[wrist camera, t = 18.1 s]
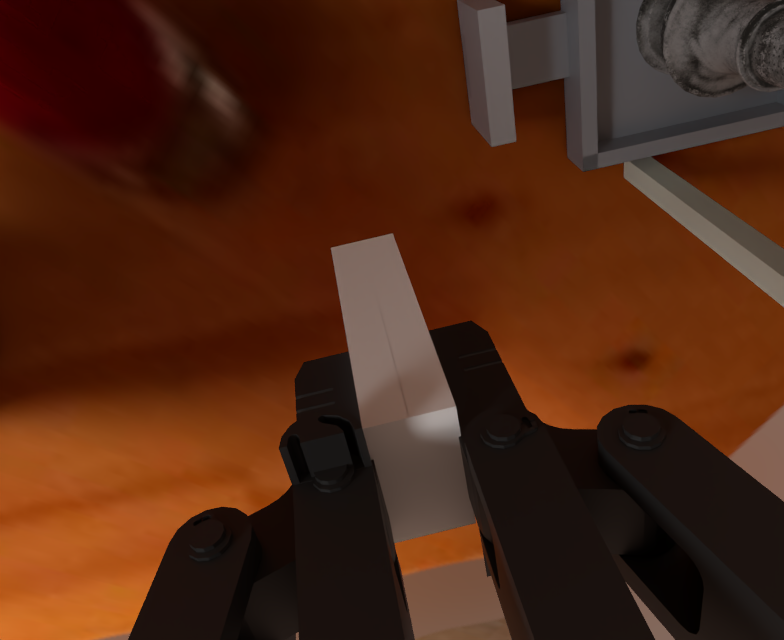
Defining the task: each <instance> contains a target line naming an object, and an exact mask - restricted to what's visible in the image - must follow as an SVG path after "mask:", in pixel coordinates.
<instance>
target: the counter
mask: <svg viewBox="0 0 784 640" xmlns="http://www.w3.org/2000/svg"><path fill="white" fill-rule="evenodd" d="M624 178H625V179H626V180H627V181H629V182H630V183H631V184H632V185H634V186H635V187H636V188H637V189H638V190H640V191H641V192H642V193H643V194H645V195H646V196H647V197H648V198H650V199H651V200H652V201H653V202H655V203H656V204H657V205H658V206H659V207H661V208H662V209H663V210H664V211H666V212H667V213H668V214H669V215H671V216H672V217H673V218H674V219H675V220H677V221H678V222H679V223H680V224H682V225H683V226H684V227H685V228H687V229H688V230H689V231H690V232H692V233H693V234H694V235H695V236H696V237H698V238H699V239H700V240H701V241H703V242H704V243H705V244H706V245H708V246H709V247H710V248H711V249H713V250H714V251H715V252H716V253H717V254H719V255H720V256H721V257H722V258H724V259H725V260H726V261H727V262H729V263H730V264H731V265H732V266H734V267H735V268H736V269H737V270H738V271H740V272H741V273H742V274H743V275H745V276H746V277H747V278H748V279H750V280H751V281H752V282H753V283H754V284H756V285H757V286H758V287H759V288H761V289H762V290H763V291H764V292H766V293H767V294H768V295H769V296H771V297H772V298H773V299H774V300H775V301H777V302H778V303H779V304H780V305H782V306H783V307H784V249H783V248H782V247H780V246H779V245H777V244H776V243H774V242H773V241H771V240H770V239H769V238H767V237H766V236H764V235H763V234H761V233H760V232H758V231H757V230H756V229H754V228H753V227H751V226H750V225H748V224H747V223H746V222H744V221H743V220H741V219H740V218H738V217H737V216H735V215H734V214H733V213H731V212H730V211H728V210H727V209H725V208H724V207H722V206H721V205H720V204H718V203H717V202H715V201H714V200H712V199H711V198H710V197H708V196H707V195H705V194H704V193H702V192H701V191H699V190H698V189H697V188H695V187H694V186H692V185H691V184H689V183H688V182H686V181H685V180H684V179H682V178H681V177H679V176H678V175H676V174H675V173H674V172H672V171H671V170H669V169H668V168H666V167H665V166H663V165H662V164H661V163H659V162H658V161H656V160H655V159H653V158H652V157H646V158H642V159H637V160H633V161H629V162H624Z"/></svg>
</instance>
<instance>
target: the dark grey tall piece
mask: <svg viewBox="0 0 784 640" xmlns="http://www.w3.org/2000/svg"><path fill="white" fill-rule="evenodd" d="M636 40H637V44H638V48H639V51H640V53H641V55H642V56H643V58H644V60H645V61H646V62H647V63H648V64H649V65H650V66H651V67H652V68H654V69H655V70H657V71H660V72H662V73H665V74H667V75H671V77H672V79H673V80H674V82H675V83H676V84H677V85H679V86H680V87H681V88H682V89H683V90H684V91H686V92H688V93H691V94H694V95H696V96H699V97H712V98H715V97H720V96H724V95H729V94H732V93H734V92H736V91H738V90H740V89H742V88H744V87H746V86H747V85H748V86H749V87H751V88H753V89H756V90H758V91H765V92H772V91H777V90H781V89H784V0H643V2H642V4H641V6H640V9H639V13H638V17H637V21H636Z"/></svg>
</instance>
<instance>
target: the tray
mask: <svg viewBox="0 0 784 640" xmlns="http://www.w3.org/2000/svg"><path fill="white" fill-rule="evenodd" d="M560 1H561V10H560V11H556V12H551V13H547V14H542V15H538V16H533V17H529V18H524V19H520V20H515V21H511V22H506V13H505V5H504V4H502V3H500V2H498V1H496V0H457V5H458V14H459V22H460V31H461V39H462V47H463V56H464V64H465V73H466V81H467V89H468V98H469V106H470V114H471V123H472V125H473V126H474V127H475V128H476V129H477V131H478V132H479V133H480V134H481V135H482V136H483V138H484V139H485V140H486V141H487V142H488V143H489V145H490V146H491V147H494V146H499V145H503V144H507V143H512V142H516V131H515V119H514V107H513V96H512V89H517V88H521V87H526V86H530V85H535V84H539V83H544V82H548V81H552V80H557V79H561V78H564V91H565V113H566V135H567V158H568V159H570V160H571V161H572V162H573V163H574V164H575V165H576V166H577V167H578V168H580V169H581V170H582V171H583V172H584V171H589V170H593V169H598V168H602V167H606V166H611V165H615V164H620V163H624V162H629V161H633V160H637V159H642V158H646V157H651V156H655V155H659V154H664V153H668V152H673V151H677V150H681V149H686V148H690V147H695V146H699V145H704V144H708V143H712V142H717V141H721V140H726V139H730V138H734V137H739V136H743V135H748V134H752V133H757V132H761V131H765V130H770V129H774V128H779V127H783V126H784V89H781V90H777V91H772V92H765V91H758V90H756V89H753V88H751V87H749V86H748V85H747V86H746V87H744V88H742V89H740V90H738V91H736V92H734V93H732V94H729V95H724V96H720V97H715V98H712V97H699V96H696V95H694V94H691V93H688V92H686V91H684V90H683V89H682V88H681V87H680V86H679V85H677V84H676V83H675V82H674V80H673V79H672V77H671V75H667V74H665V73H662V72H660V71H657V70H655V69H654V68H652V67H651V66H650V65H649V64H648V63H647V62H646V61H645V60H644V58H643V56H642V55H641V53H640V51H639V48H638V44H637V40H636V21H637V17H638V13H639V9H640V6H641V4H642V2H643V0H560Z"/></svg>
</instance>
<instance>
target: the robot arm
mask: <svg viewBox="0 0 784 640" xmlns="http://www.w3.org/2000/svg"><path fill="white" fill-rule="evenodd" d="M331 252H332V257H333V263H334V269H335V275H336V280H337V286H338V292H339V298H340V303H341V309H342V315H343V321H344V326H345V332H346V338H347V344H348V349H349V352H345V353H341V354H336V355H332V356H328V357H324V358H320V359H315V360H311V361H307V362H304V363H303V365H302V367H301V369H300V371H299V372H298V374H297V376H296V378H295V396H296V411H297V414H296V415H297V421H296V422H295V423H294V424H292V425H291V426H290V427H289V428H288V429H287V431H286V432H285V433H284V434H283V436H282V438H281V442H280V446H279V450H280V453H281V456H282V458H283V461H284V464H285V466H286V469H287V472H288V475H289V477H290V480H291V483H292V485H291V487H290V488H289V489H288V491H287V492H286V493H285V494H284V495H282V496H281V497H280V498H279V499H278V500H276V501H275V502H273V503H272V504H270V505H268V506H267V507H265V508H263V509H261V510H259V511H257V512H255V513H253V514H251V515H250V516H247V515H246V514H245V513H243V512H241V511H240V510H238V509H236V508H228V507H219V508H214V509H210V510H206V511H204V512H202V513H200V514H198V515H196V516H194V517H192V518H190V519H189V520H188V521H187V522H186V523H185V524H184V525H182V526H181V527H180V528H179V529H178V530H177V532H176V533H175V535H174V536H173V538H172V539H171V541H170V543H169V545H168V547H167V549H166V552H165V554H164V556H163V559H162V561H161V564H160V566H159V568H158V571H157V573H156V575H155V578H154V580H153V582H152V585H151V587H150V589H149V592H148V594H147V596H146V599H145V601H144V603H143V606H142V608H141V611H140V613H139V615H138V618H137V620H136V622H135V625H134V627H133V629H132V632H131V634H130V636H129V639H128V640H296V633H297V632H299V640H415V639H414V634H413V629H412V624H411V618H410V614H409V609H408V603H407V598H406V594H405V588H404V583H403V578H402V573H401V568H400V565H399V561H398V557H397V554H396V550H395V545H394V543H397V542H401V541H405V540H409V539H413V538H417V537H421V536H425V535H429V534H433V533H437V532H441V531H445V530H449V529H453V528H457V527H461V526H465V525H469V524H473V523H476V521H475V517H476V520H477V523H478V526H479V530H480V536H481V542H482V548H483V554H484V560H485V566H486V572H487V576H492V579H493V582H494V585H495V588H496V592H497V595H498V598H499V601H500V604H501V607H502V610H503V613H504V616H505V619H506V623H507V626H508V629H509V632H510V635H511V638H512V640H655V638H654V636H653V635H652V632H651V631H650V629H649V627H648V625H647V623H646V621H645V619H644V617H643V615H642V613H641V611H640V609H639V607H638V606H637V603H636V602H635V600H634V598H633V596H632V594H631V592H630V590H629V588H628V586H627V584H628V585H629V586H630V587H631V589H632V590H633V591H634V592H635V593H636V594H637V596H638V597H639V598H640V599H641V600H642V601H643V602H644V604H645V605H646V606H647V607H648V608H649V609H650V611H651V612H652V613H653V614H654V615H655V616H656V618H657V619H658V620H659V621H660V622H661V623H662V625H663V626H664V627H665V628H666V629H667V630H668V632H669V633H670V634H671V635H672V636H673V637H674V639H675V640H784V502H783V501H782V500H781V499H780V498H778V497H777V496H776V495H775V494H773V493H772V492H771V491H770V490H768V489H767V488H766V487H764V486H763V485H762V484H761V483H759V482H758V481H757V480H756V479H754V478H753V477H752V476H751V475H749V474H748V473H746V471H744V470H743V469H742V468H741V467H739V466H738V465H736V464H735V463H734V462H733V461H732V460H730V459H729V458H728V457H727V456H725V455H724V454H723V453H722V452H720V451H719V450H718V449H717V448H715V447H714V446H713V445H711V444H710V443H709V442H708V441H706V440H705V439H704V438H703V437H701V436H700V435H699V434H698V433H696V432H695V431H694V430H693V429H691V428H690V427H689V426H687V425H686V424H685V423H684V422H682V421H681V420H680V419H679V418H677V417H676V416H674V415H673V414H671V413H669V412H667V411H665V410H664V409H661V408H657V407H653V406H649V405H627V406H623V407H620V408H616V409H613V410H612V411H610V412H609V413H608V414H606V415H605V416H603V417H602V419H601V421H600V423H599V424H598V426H597V429H562V428H557V427H553V426H549V425H547V424H545V423H543V422H542V421H541V420H540V419H539V418H538V417H537V416H536V415H535V414H533V413H531V412H529V411H528V410H527V409H526V407H525V405H524V403H523V401H522V399H521V397H520V395H519V393H518V391H517V390H516V388H515V386H514V384H513V382H512V380H511V378H510V376H509V374H508V372H507V370H506V368H505V366H504V364H503V363H502V360H501V358H500V356H499V354H498V352H497V350H496V349H495V346H494V344H493V342H492V340H491V338H490V336H489V334H488V332H487V331H486V330H484V329H483V328H481V327H480V326H478V325H477V324H475V323H474V322H472V321H468V322H463V323H459V324H455V325H451V326H447V327H442V328H438V329H434V330H430V331H428V328H427V326H426V323H425V320H424V318H423V315H422V312H421V309H420V307H419V304H418V301H417V298H416V296H415V293H414V290H413V287H412V285H411V282H410V279H409V277H408V274H407V271H406V268H405V266H404V263H403V260H402V257H401V255H400V252H399V249H398V247H397V244H396V241H395V238H394V236H393V233H392V234H387V235H383V236H379V237H375V238H370V239H366V240H362V241H357V242H353V243H349V244H345V245H340V246H336V247H332V248H331ZM474 514H475V515H474ZM626 583H627V584H626Z"/></svg>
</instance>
